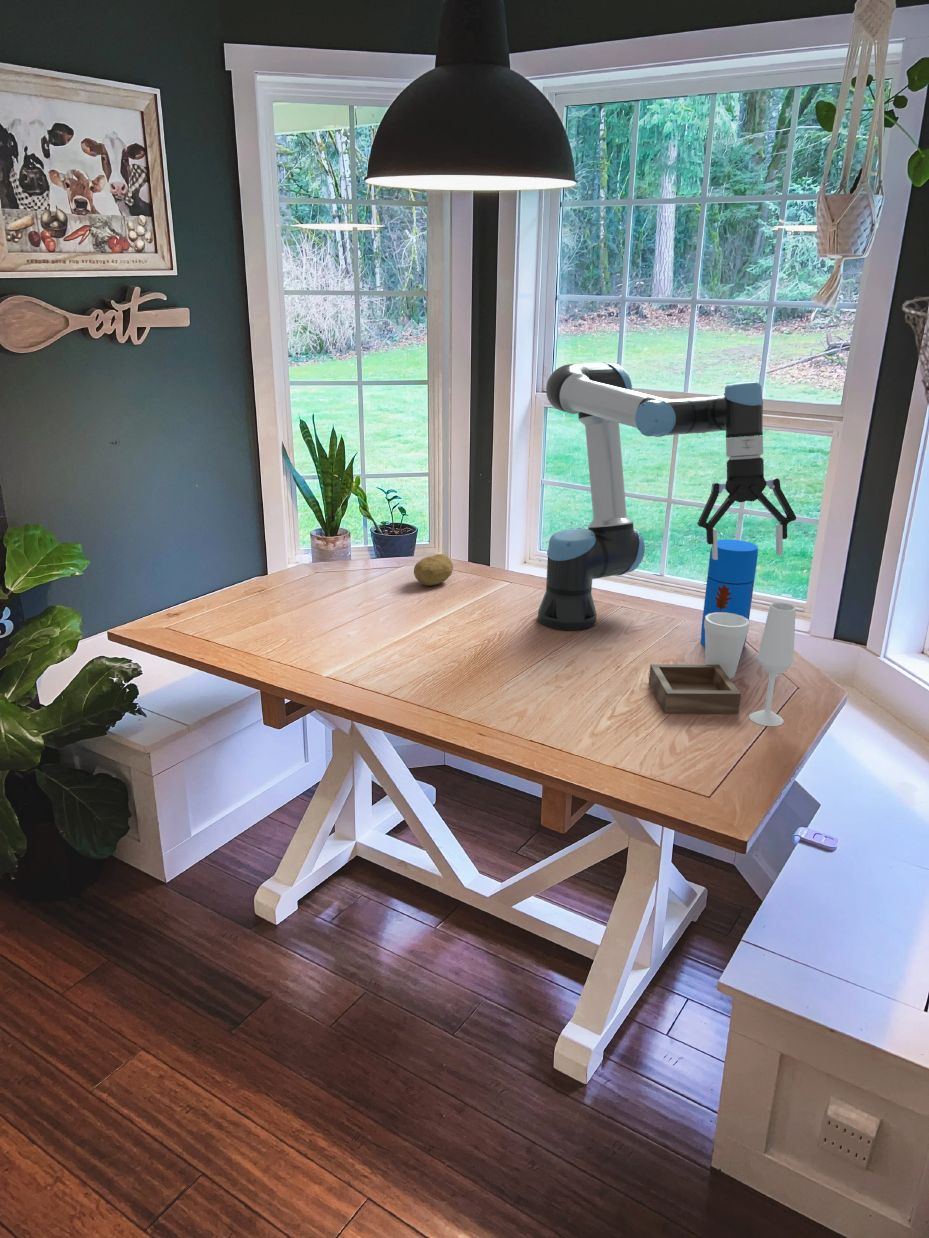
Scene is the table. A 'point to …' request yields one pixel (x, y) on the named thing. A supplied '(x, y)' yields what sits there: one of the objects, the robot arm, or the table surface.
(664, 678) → the square wooden tray
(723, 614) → the foam cup
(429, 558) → the potato
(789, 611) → the champagne flute
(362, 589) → the table surface
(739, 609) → the thermos
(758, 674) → the table surface
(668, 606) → the table surface
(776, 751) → the table surface
